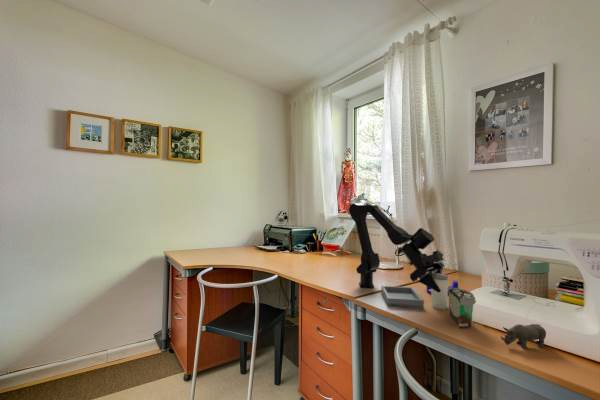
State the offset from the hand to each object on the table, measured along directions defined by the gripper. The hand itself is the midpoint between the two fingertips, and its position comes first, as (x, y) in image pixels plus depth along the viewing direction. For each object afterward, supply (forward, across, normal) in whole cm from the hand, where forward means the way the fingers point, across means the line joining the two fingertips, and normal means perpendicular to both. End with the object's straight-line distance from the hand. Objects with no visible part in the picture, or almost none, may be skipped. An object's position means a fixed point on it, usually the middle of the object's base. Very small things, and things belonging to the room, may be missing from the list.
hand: (443, 290), depth 105 cm
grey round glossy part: (+4, 0, +6) cm, 7 cm away
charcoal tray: (-6, -5, +15) cm, 17 cm away
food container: (+12, -8, -2) cm, 15 cm away
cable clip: (0, +18, +10) cm, 21 cm away
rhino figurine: (+23, -12, -14) cm, 29 cm away
